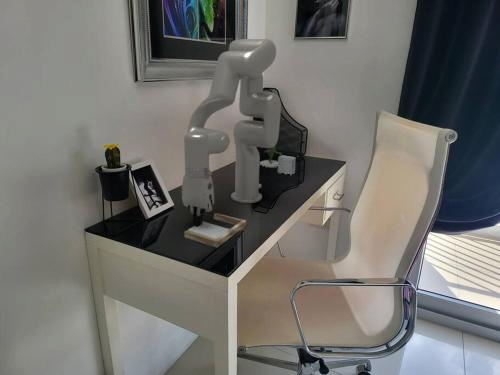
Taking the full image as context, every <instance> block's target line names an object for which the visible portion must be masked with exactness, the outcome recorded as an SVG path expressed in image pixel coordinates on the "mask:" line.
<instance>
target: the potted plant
mask: <svg viewBox="0 0 500 375" xmlns="http://www.w3.org/2000/svg"><path fill="white" fill-rule="evenodd" d="M263 152H264V154H265V153H267V155H268V159H265V160H261V161H260V164H259V166H261V165H262V166H261V167H264V166H265V167H264V168H278V167H277V166H278V160H273V158H274V155H275V154H278V155H279V156H282V155H283V154H284V153H282V151H280V152H279V151H277V150H276V146H274V147H273V148H268V149H267V150H264V151H263Z"/></svg>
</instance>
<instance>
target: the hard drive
mask: <svg viewBox="0 0 500 375" xmlns="http://www.w3.org/2000/svg"><path fill="white" fill-rule="evenodd" d="M230 229H231V228H226V227H223V226H219V225H217V224H213V223H209V222H208V221H207V222H206V221H203V223H202V224H201V225H200V226H198V227H196V226H192V227H190V228H188V229H187V230H188V231H191V232H194V233H198V234H201V235H204V236H208V237H211V238H214V239H217V238H218V237H220V236H221V235H223V234H224V233H225V232H227V231H228V230H230Z"/></svg>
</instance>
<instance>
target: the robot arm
mask: <svg viewBox="0 0 500 375" xmlns="http://www.w3.org/2000/svg"><path fill="white" fill-rule="evenodd" d="M276 56H277V47H276V44H275V43H274V42H273V40H271V39H267V38H241V39H236V40H232V41H231V42H230V44H229V47H228V50H227V51H223V52H221V54H219V56H218V58H217V62H216V66H215V69H214V74H213V79H212V82H211V86H210V91H209V93H208V96H207V97H206V98H205V99H204V100H202V101H201V102H200V103H199V105H198V106H197V107H196V108H195V110H193V112H192V114H191V116H190V119H189V123H188V126H187V127H188V128H187V133H186V134H184V138H183V142H184V145H183V147H184V151H183V152H184V175H183V178H182V184H181V201H182V203H183V206H185V207H186V208H188V209H189V211H190V214H191V215H192V227H194V226H196V227H198V226H200V225H201V224H202V223H203V222H204V219H203V218H204V216H203V215H204V214H205V213H210V212H212V211H213V205H214V204H215V188H214V183H213V178H212V174H213V171H212V170H210V155H214V154H222V153H224V152H225V151H227V150H228V148H229V146H230V143H231V141H230V137H229V135H228V133H227V132H225V131H224V130H220V129H215V128H214V129H213V128H208V127H205V125H206V124H207V121H208V119H209V118H210V117H211V116H212V115H213V114H215V113H216V112H219V111H221V110H223V109H226V108H227V107H229V106H231V105H233V104H234V103H235V100H236V96H237V92H238V88H240V89H239V98H238V100H239V101H238V102H239V104H238V105H239V106H238V108H239V112H240V113H241V115H243V116H245V117H250V118H251V117H252V118H259V119H263V121H259V120H251V119H244V120H240V121H239V120H238V121H237V122H236V123H235V125H234V128H233V139H234V144H235V172H234V175H235V181H234V183H235V184H234V185H235V187H234V192H232V193H231V196H230V198H231V199H232V200H233V201H234V202H237V203H241V204H253V203H257V202H260V201H261V200H262V197H263V195H262V193H260V192H259V189H261V188H262V184H261V183H260V182H259V181H260V162H261V161H260V157H261V156H260V152H259V150H258V148H262V149H263V148H264V149H272V148H273V147H276V145H277V143H278V140H279V134H280V125H281V124H280V123H281V113H282V111H281V110H282V103H281V98H280V96H279V95H278V94H277V93H275V92H272V91H264V75H263V73H264V72H265V71H266V70H267V69H269V67H271V65H273V63H274V62H275V59H276ZM239 84H240V86H239Z"/></svg>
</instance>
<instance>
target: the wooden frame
mask: <svg viewBox="0 0 500 375" xmlns="http://www.w3.org/2000/svg"><path fill="white" fill-rule="evenodd" d="M213 220H216V221H220V222H223V223H226V224H230V225H234V226H232V227H231V228H229V229H230V230H228V231H227V232H225V233H224V234H223V235H221V236H220V237H218V238H217V239H214V238H211V237H208V236H204V235H201V234H198V233H194V232H191V231H188V230H189V229H187V230H185V231H184V238H185V239H189V240H192V241H194V242H198V243H202V244H204V245H207V246H211V247H214V248H219V247H220V246H222V245H223V244H225V242H227V241H228V240H229V239H230V238H232V237H233V236H235V235H236V234H237V233H239V232H240V231H241V230H242V229H244V228H245V227H247V220H246V219H243V218H242V219H240V218H238V217H233V216H231V215H226V214H222V213H218V212H214V213H213Z"/></svg>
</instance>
